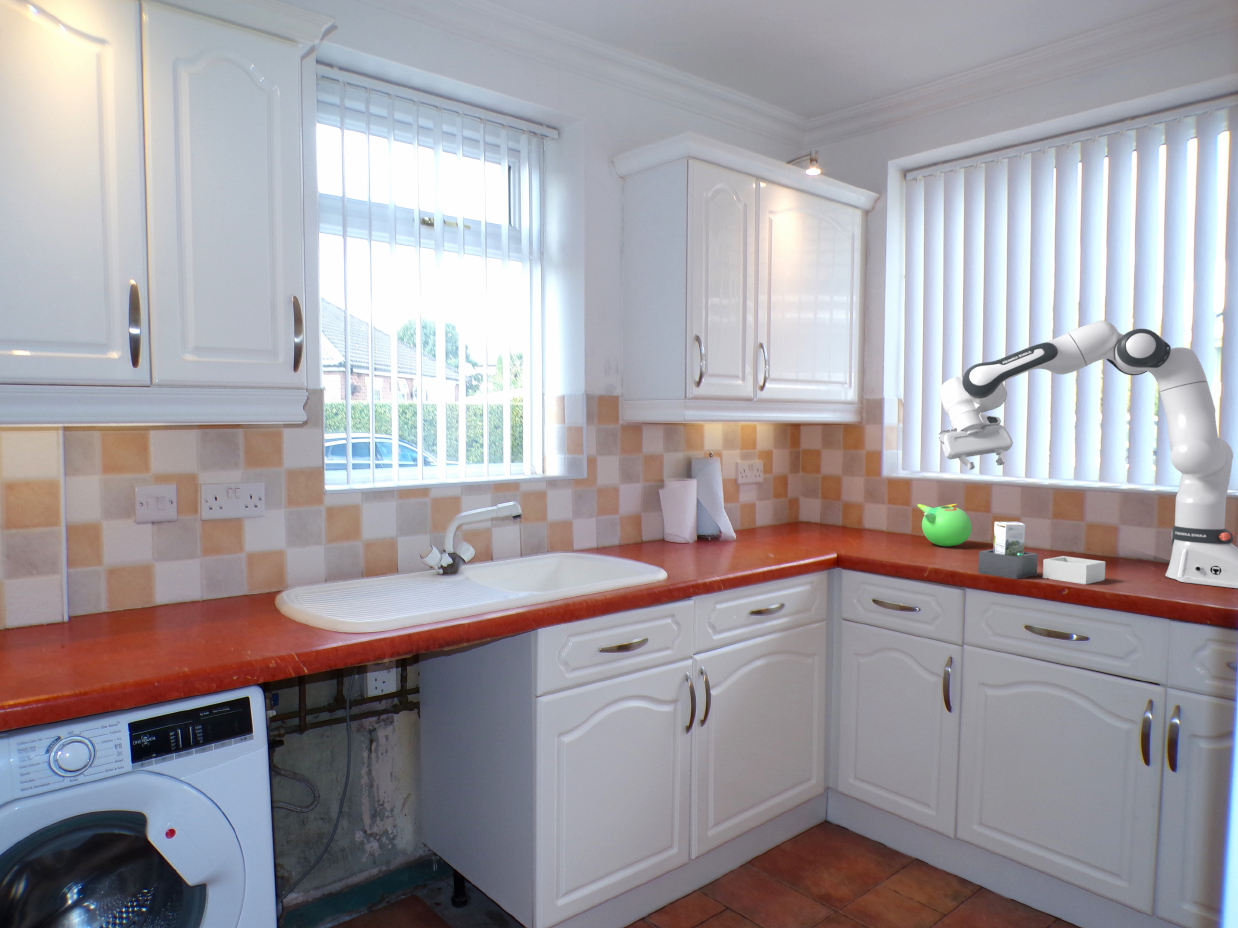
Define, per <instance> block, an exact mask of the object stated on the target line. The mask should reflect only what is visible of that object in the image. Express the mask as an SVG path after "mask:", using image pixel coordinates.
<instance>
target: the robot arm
mask: <svg viewBox="0 0 1238 928" xmlns="http://www.w3.org/2000/svg"><path fill="white" fill-rule="evenodd" d="M1101 360H1106V361H1107V362H1109V363H1110V364H1111V365H1112V366H1113V367H1114V368H1115V369H1117V371H1118V372H1121V373H1122V374H1124V375H1126V376H1127V375H1129V376H1139V375H1143V374H1145V373H1149V374H1151V375H1152V376H1153V377H1154V379H1155V381H1156V382H1157V387H1158V388H1157V389H1158V392H1159V395H1160V399H1161V402H1162V406H1163V410H1164V413H1165V417H1166V423H1167V431H1168V432H1167V433H1168V441H1169V447H1170V449H1169V450H1170V462H1171V464H1172V465H1173V466H1174V468H1175V469H1176V470H1177V471H1179V473H1181V477H1180V483H1179V486H1178V489H1177V493H1176V495H1175V510H1174V511H1175V513H1174V525H1173V526H1172V530H1171V546H1172V549H1171V550H1172V551H1171V556H1170V561H1169V565H1168V567H1167V570H1166V572H1165V574H1164V575H1165V577H1167V578H1170V579H1173V580H1177V581H1178V582H1182V583H1188V584H1196V585H1204V586H1205V585H1207V586H1215V587H1223V588H1224V587H1225V588H1234V589H1238V547H1237V546H1236V545H1235V544H1233V543H1234V537H1235V533H1236V532H1232V531H1230V530H1228V529H1226V527H1225V526H1226V525H1225V524H1226V506H1227V505H1226V504H1227V495H1228V490H1229V485H1230V480H1231V473H1232V465H1233V459H1234V451H1233V449H1232V448H1231V446H1230V444H1229V443H1228V442H1227V441H1226V440H1225V439H1223V438H1220V437H1219V434H1218V427H1217V421H1216V420H1217V419H1216V408H1215V405H1214V400H1213V397H1212V393H1211V390H1210V389H1211V388H1210V386H1209V382H1208V378H1207V375H1206V373H1205V371H1204V368H1203V366H1202V364H1201V362H1200V360H1199V357H1198V355H1197V354H1196V352H1195V351H1194V350H1192V349H1190V348H1188V347H1183V346H1182V347H1181V346H1180V347H1172V346H1171V345H1170V344H1169V343H1168V342H1167V341H1165V340H1164V339H1163V338H1162V337H1161V336H1160V335H1158V334H1157V333H1156V332H1155V331H1152V330H1150V329H1147V328H1136V329H1132V330H1129V331H1127V332H1126V333H1124V334H1122V333H1121V332H1119V331H1118V329H1117V327H1116V326H1115V325H1113V323H1111V322H1109V321H1107V320H1098V321H1095V322H1091V323H1088V324H1085V325H1082V326H1080V327H1076V328H1075V329H1073V330H1071V331H1068V332H1066V333H1064V334H1062V335H1060V336H1058V337H1056V338H1053V339H1050V340H1048V341H1046V342H1040V343H1038V344H1035V345H1032V346H1028V347H1026V348H1023V349H1021V350H1019V351H1017V352H1014V353H1011V354H1009V355H1006V356H1004V357H1002V358H999V359H996V360H993V361H985V362H980V363H976V364H973V365H972V366H970V367H969V368H967V370H966V371H965V372H964V374H963V376H962V377H961V376H954V377H951V378H949V379H947V380H946V381H944V383H942V385H941V386H940V388H939V398H940V401H941V404H942V407H943V410H944V412H945V414H946V415H947V416H948V418H949V424H950V426H951V428H950V429H943V430H941V431H940V432H939V433H938V439H939V441H940V443H941V446H942V450H943V454H944V457H945V458H946V459H948V460H956V459H958V460H959V461H960V462H961V463H962V464H963V465H964V466H965V467H966V469H967V471H972V470H974V469H975V468H976V466H975V464H974V461H970V460H969V459H968V458H969V457H970V458H971V457H975V456H976V457H977V456H983V455H990V454H995V455H996V456H998V457H997V459H996V460H995V463H996V466H1004V464H1005V462H1006V461H1005V459H1004V456H1005V452H1008V451H1009V450H1010V449H1011V448H1012V447H1013V444H1014V442H1013V439H1012V437H1011V435H1010V433H1009V431H1008V430H1007V428H1006V427H1005V426H1003V425H1002V424H1001V422H1002V420H1001V418H1000V417H999V416H994V415H986V414H982V413H985V412H989V411H992V410H996V409H998V408H1000V407H1001V406H1002V405H1003V404H1004V403H1005V402H1006V400H1007V397H1008V393H1007V392H1008V391H1007V388H1006V387H1005V384H1004V382H1006V381H1007V380H1009V379H1012V378H1015V377H1017V376H1020V375H1021V374H1024V373H1028V372H1029V371H1033V370H1038V369H1039V370H1046V371H1048V372H1051V373H1053V374H1057V375H1066V374H1067V375H1068V374H1070V373H1074V372H1076V371H1079V370H1081V369H1084V368H1085V367H1089V366H1090V365H1091V364H1093V363H1096V362H1098V361H1101Z"/></svg>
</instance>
